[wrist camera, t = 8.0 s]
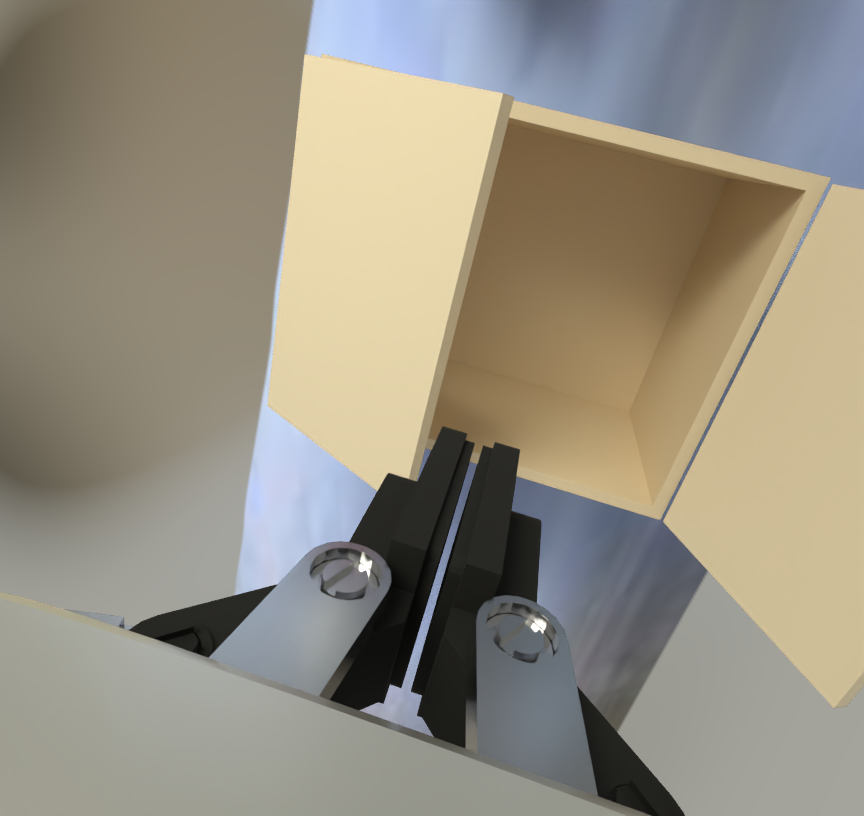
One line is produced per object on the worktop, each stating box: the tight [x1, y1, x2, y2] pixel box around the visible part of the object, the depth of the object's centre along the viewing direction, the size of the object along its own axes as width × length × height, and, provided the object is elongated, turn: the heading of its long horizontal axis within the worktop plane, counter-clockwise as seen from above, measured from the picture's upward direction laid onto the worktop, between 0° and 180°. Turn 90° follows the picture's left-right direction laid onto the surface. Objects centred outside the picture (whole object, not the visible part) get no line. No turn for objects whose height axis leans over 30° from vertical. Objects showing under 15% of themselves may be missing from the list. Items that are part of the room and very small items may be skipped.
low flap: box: [268, 54, 514, 491], centre depth 23 cm, size 16×10×1 cm, turn 167°
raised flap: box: [663, 184, 864, 708], centre depth 20 cm, size 16×10×1 cm
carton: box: [321, 54, 831, 520], centre depth 31 cm, size 16×20×12 cm
